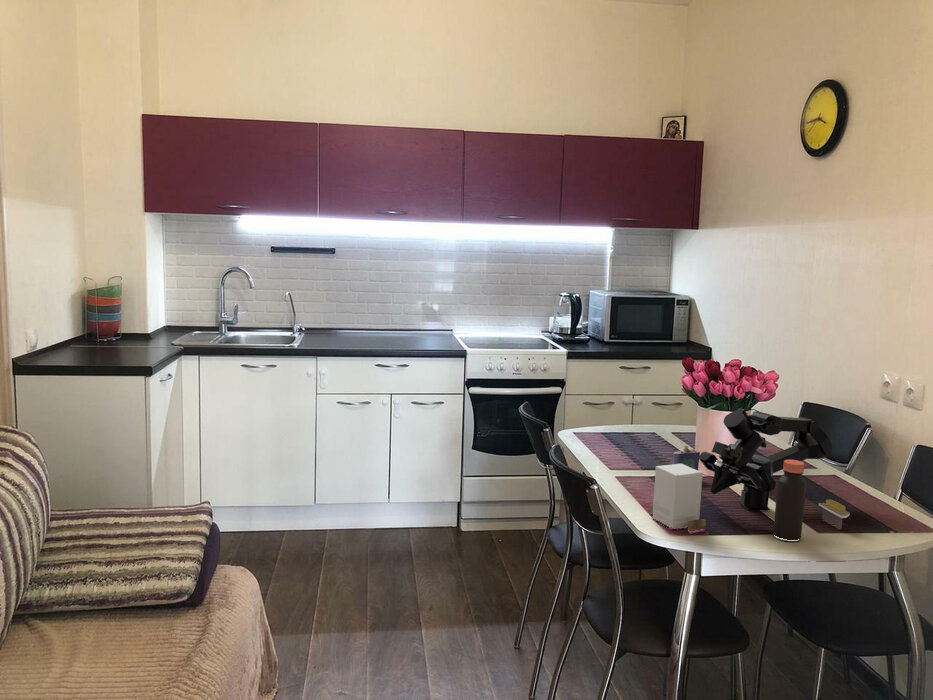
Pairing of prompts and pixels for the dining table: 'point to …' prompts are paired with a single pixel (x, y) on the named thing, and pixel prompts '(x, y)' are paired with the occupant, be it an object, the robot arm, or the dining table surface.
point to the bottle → (790, 501)
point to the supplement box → (677, 495)
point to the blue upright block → (687, 458)
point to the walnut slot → (691, 523)
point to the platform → (834, 512)
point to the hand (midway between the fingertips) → (711, 492)
